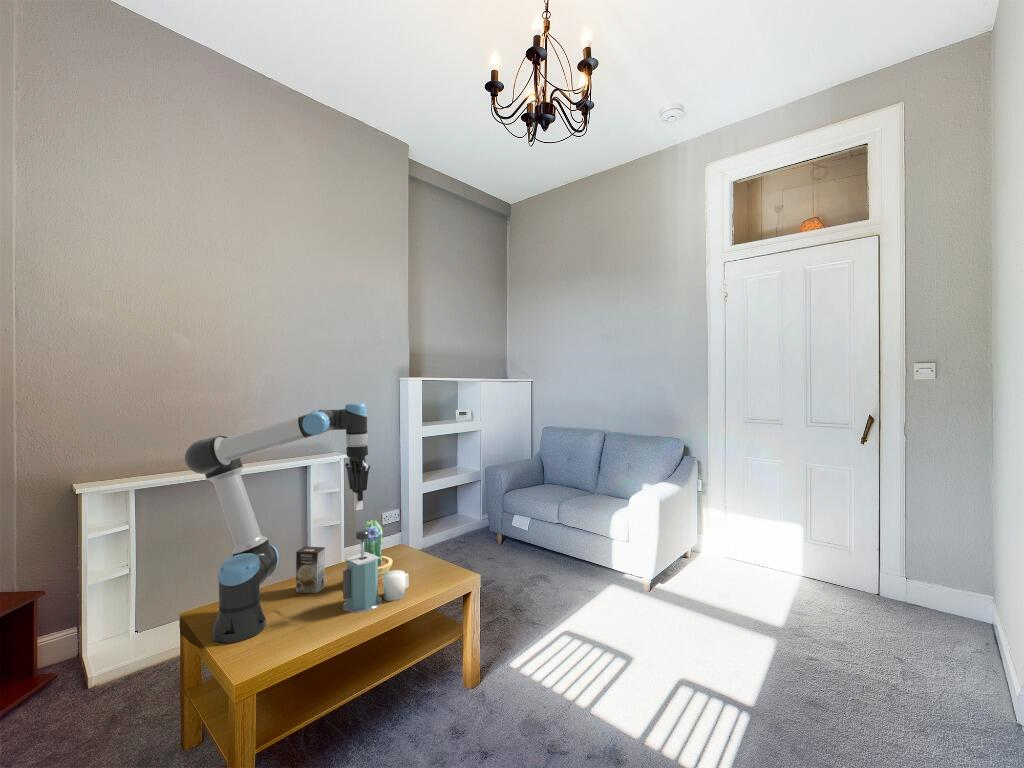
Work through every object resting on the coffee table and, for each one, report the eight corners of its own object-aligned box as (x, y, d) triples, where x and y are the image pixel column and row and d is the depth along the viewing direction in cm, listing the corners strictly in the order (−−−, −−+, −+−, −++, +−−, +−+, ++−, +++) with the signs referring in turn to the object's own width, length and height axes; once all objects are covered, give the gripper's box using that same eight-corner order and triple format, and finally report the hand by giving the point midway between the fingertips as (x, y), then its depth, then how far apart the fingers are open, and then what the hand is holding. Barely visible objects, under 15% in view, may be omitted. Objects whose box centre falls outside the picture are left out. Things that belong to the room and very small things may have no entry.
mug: (391, 605, 171) (391, 580, 171) (379, 598, 176) (379, 574, 176) (414, 595, 178) (414, 571, 179) (401, 589, 184) (401, 566, 184)
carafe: (351, 614, 162) (351, 567, 162) (336, 606, 168) (336, 560, 169) (382, 602, 171) (382, 557, 171) (367, 594, 178) (367, 551, 178)
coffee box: (295, 592, 182) (294, 551, 182) (304, 585, 188) (303, 546, 188) (317, 593, 181) (317, 552, 181) (325, 586, 187) (325, 546, 187)
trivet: (355, 618, 161) (355, 616, 161) (335, 606, 170) (335, 604, 170) (390, 604, 171) (390, 601, 171) (369, 593, 181) (369, 591, 181)
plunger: (358, 582, 165) (358, 536, 166) (347, 577, 170) (347, 532, 171) (377, 576, 171) (377, 531, 171) (366, 571, 176) (365, 527, 176)
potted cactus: (345, 587, 186) (345, 525, 186) (368, 572, 201) (367, 514, 201) (379, 592, 181) (378, 528, 182) (399, 576, 196) (399, 517, 196)
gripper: (376, 445, 170) (377, 509, 170) (356, 443, 179) (357, 504, 179) (357, 447, 165) (359, 514, 164) (338, 445, 173) (339, 509, 173)
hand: (358, 509), depth 172 cm, fingers closed
